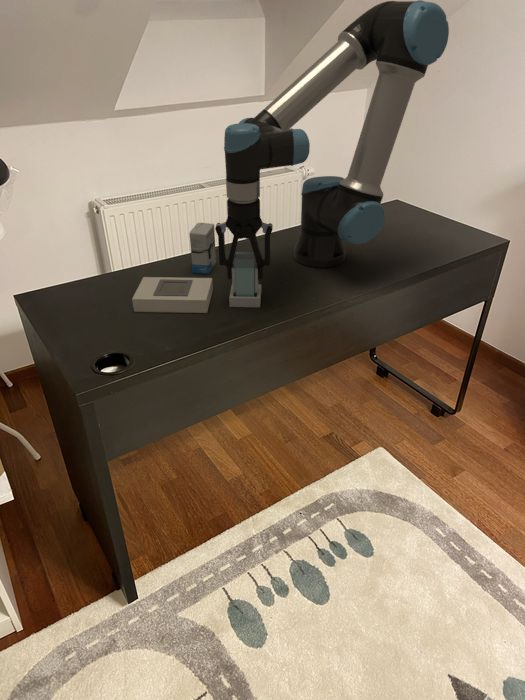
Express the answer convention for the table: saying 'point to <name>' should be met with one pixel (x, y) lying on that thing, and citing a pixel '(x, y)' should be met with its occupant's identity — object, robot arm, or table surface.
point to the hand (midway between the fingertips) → (245, 289)
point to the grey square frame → (245, 299)
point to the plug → (245, 274)
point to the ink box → (203, 248)
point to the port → (173, 295)
